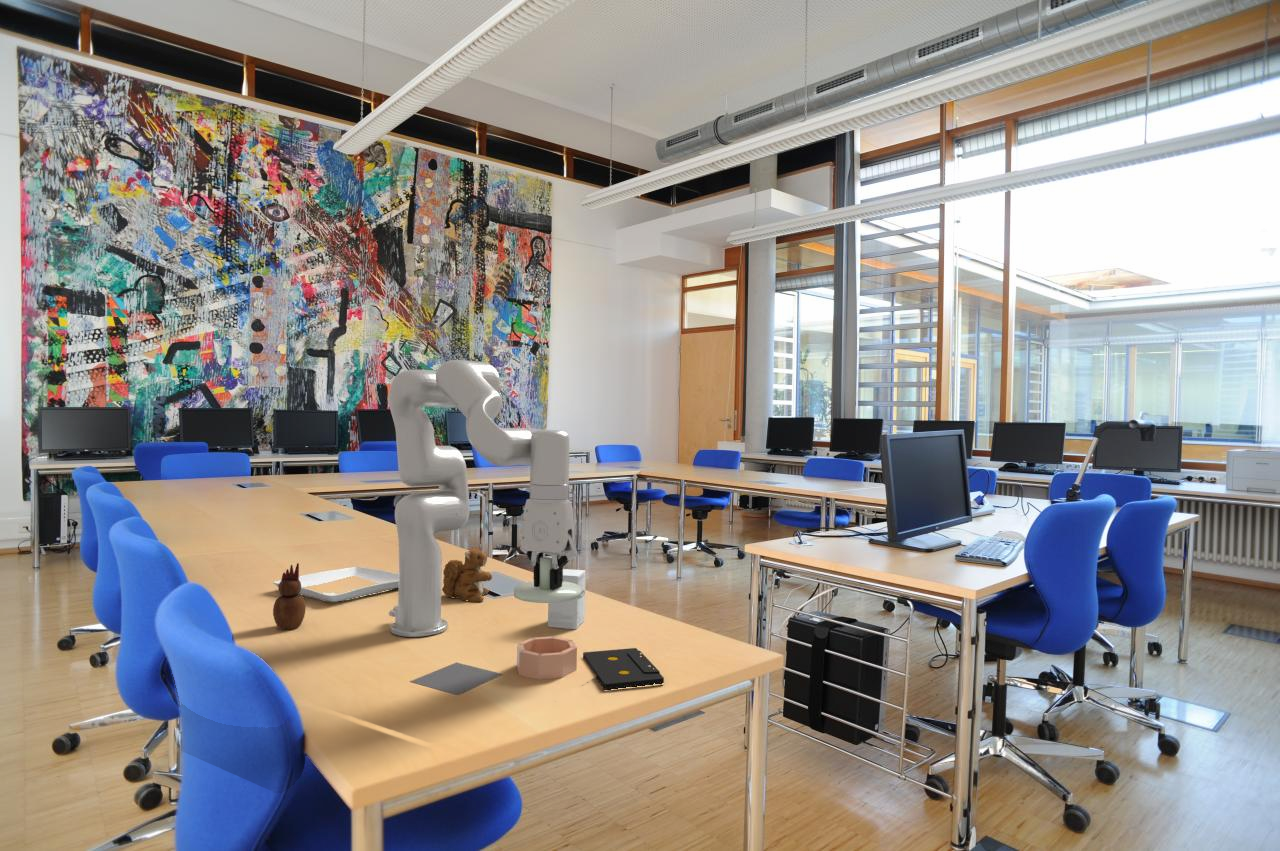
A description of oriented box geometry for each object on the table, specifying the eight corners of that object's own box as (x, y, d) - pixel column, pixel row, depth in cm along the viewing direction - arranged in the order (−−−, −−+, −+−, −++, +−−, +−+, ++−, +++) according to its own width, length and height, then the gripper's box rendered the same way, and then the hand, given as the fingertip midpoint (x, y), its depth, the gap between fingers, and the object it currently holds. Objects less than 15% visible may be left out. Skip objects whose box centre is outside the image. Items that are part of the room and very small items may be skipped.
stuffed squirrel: (484, 603, 189) (484, 553, 189) (433, 600, 190) (434, 551, 190) (495, 593, 199) (496, 547, 199) (447, 591, 200) (448, 545, 200)
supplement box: (577, 629, 166) (578, 576, 166) (546, 627, 168) (547, 574, 168) (585, 621, 174) (586, 569, 173) (556, 618, 175) (557, 567, 175)
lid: (499, 596, 136) (500, 559, 136) (541, 583, 148) (541, 549, 147) (554, 606, 130) (555, 567, 130) (593, 591, 141) (594, 555, 141)
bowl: (505, 674, 137) (506, 648, 137) (541, 657, 146) (541, 633, 146) (552, 685, 131) (552, 659, 131) (585, 668, 141) (586, 643, 141)
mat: (409, 684, 131) (409, 681, 131) (456, 665, 141) (456, 662, 141) (458, 698, 125) (458, 694, 125) (503, 677, 135) (503, 674, 135)
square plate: (416, 589, 204) (416, 575, 204) (330, 610, 181) (330, 594, 181) (357, 576, 218) (357, 563, 218) (270, 594, 195) (270, 580, 195)
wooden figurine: (310, 626, 165) (311, 562, 165) (288, 633, 160) (289, 566, 160) (290, 622, 168) (290, 559, 168) (268, 628, 163) (268, 563, 163)
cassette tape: (664, 688, 133) (664, 676, 133) (604, 694, 129) (605, 682, 129) (635, 656, 150) (635, 646, 150) (582, 661, 147) (582, 650, 147)
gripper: (504, 492, 139) (502, 585, 139) (573, 497, 131) (571, 596, 131) (528, 489, 146) (526, 578, 146) (595, 494, 138) (593, 588, 138)
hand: (547, 586), depth 139 cm, fingers closed on lid, 3 cm apart
